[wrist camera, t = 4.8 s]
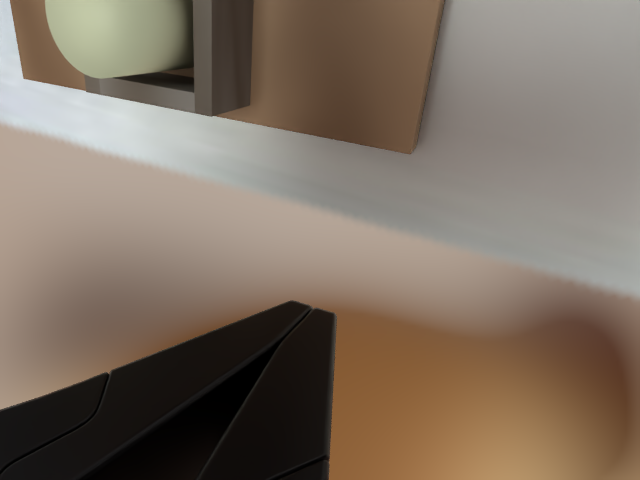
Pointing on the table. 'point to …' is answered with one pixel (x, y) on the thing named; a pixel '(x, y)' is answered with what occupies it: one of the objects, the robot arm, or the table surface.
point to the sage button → (123, 35)
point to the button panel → (278, 66)
